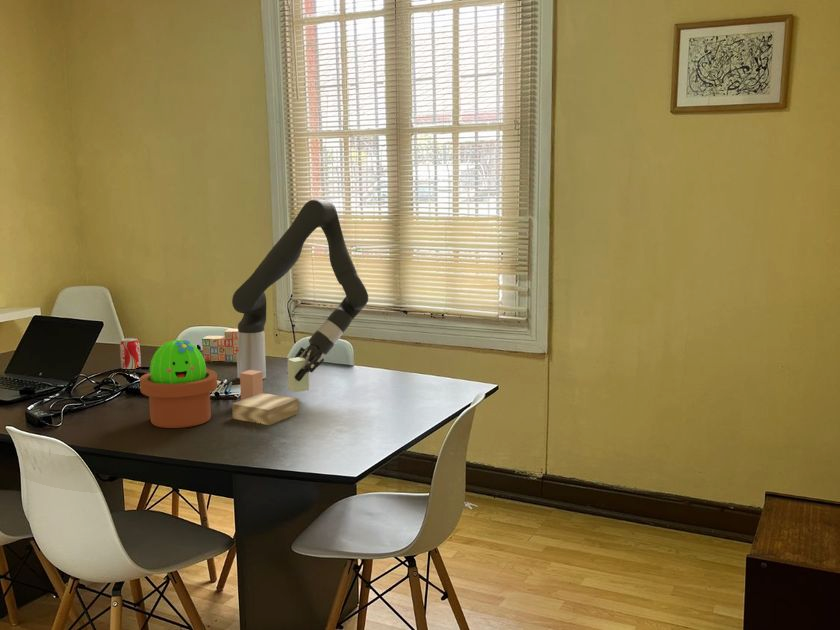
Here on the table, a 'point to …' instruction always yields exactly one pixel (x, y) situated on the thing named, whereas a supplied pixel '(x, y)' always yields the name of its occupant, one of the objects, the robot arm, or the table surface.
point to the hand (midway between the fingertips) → (293, 377)
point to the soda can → (130, 353)
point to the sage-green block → (293, 369)
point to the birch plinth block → (265, 408)
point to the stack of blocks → (221, 347)
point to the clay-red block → (251, 383)
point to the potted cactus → (178, 386)
